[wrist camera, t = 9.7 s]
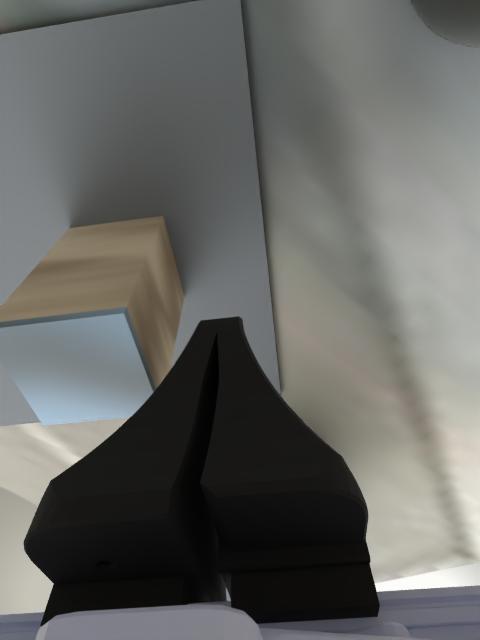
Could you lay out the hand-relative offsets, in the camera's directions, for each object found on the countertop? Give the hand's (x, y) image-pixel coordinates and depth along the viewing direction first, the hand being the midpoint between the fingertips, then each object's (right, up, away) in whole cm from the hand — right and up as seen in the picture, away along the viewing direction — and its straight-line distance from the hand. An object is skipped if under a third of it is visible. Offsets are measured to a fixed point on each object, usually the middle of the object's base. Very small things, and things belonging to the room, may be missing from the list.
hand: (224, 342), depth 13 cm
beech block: (-4, +3, +5) cm, 7 cm away
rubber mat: (-9, +2, +6) cm, 11 cm away
